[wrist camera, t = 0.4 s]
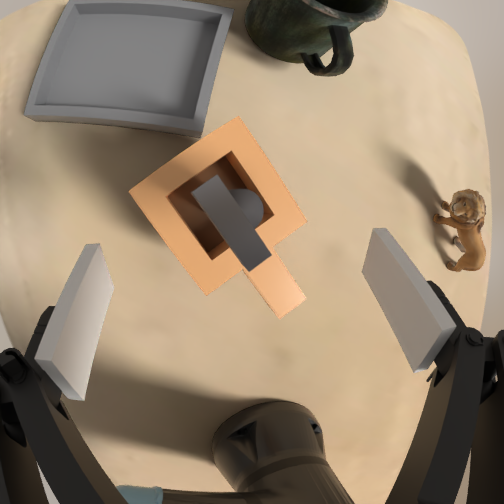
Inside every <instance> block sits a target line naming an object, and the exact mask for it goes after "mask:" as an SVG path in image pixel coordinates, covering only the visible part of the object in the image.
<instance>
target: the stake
mask: <svg viewBox="0 0 504 504" xmlns="http://www.w3.org/2000/svg"><path fill="white" fill-rule="evenodd" d="M167 197H168V198H169V200H170V201H171V203H172V204H173V205H174V207H175V208H176V210H177V211H178V212H179V214H180V215H181V217H182V218H183V219H184V221H185V222H186V223H187V225H188V226H189V228H190V229H191V230H192V232H193V233H194V235H195V236H196V237H197V239H198V240H199V241H200V243H201V244H202V245H203V247H204V248H205V250H206V251H207V252H209V251H211V250H212V249H213V248H215V247H216V246H218V245H219V244H220V243H222V242H223V241H224V240H225V242H226V243H227V244H228V246H229V247H230V249H231V250H232V251H233V253H234V254H235V256H236V257H237V258H238V260H239V261H240V262H241V264H242V265H243V266H244V267H245V268H246V269H247V271H248V272H250V271H251V270H253V269H254V268H255V267H257V266H258V265H259V264H261V263H262V262H263V261H265V260H266V259H268V258H269V257H270V256H272V254H271V253H270V251H269V250H268V248H267V247H266V245H265V244H264V242H263V241H262V239H261V238H260V236H259V235H258V233H257V232H256V230H255V228H256V227H257V226H258V225H259V224H260V222H261V220H262V218H263V213H264V208H263V203H262V201H261V199H260V198H259V196H258V195H257V194H256V193H254V192H253V191H251V190H248V189H247V187H246V186H245V184H244V183H243V181H242V180H241V178H240V177H239V175H238V174H237V172H236V171H235V169H234V168H233V167H232V165H231V164H230V162H229V161H228V159H227V158H226V156H224V157H223V158H221V159H220V160H218V161H217V162H215V163H214V164H212V165H211V166H209V167H208V168H206V169H205V170H203V171H202V172H200V173H199V174H198V175H196V176H195V177H193V178H192V179H190V180H189V181H188V182H186V183H185V184H183V185H182V186H181V187H179V188H178V189H176V190H175V191H174V192H172V193H171V194H169V195H168V196H167Z"/></svg>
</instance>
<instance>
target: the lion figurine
mask: <svg viewBox="0 0 504 504" xmlns="http://www.w3.org/2000/svg"><path fill="white" fill-rule="evenodd" d="M442 207H443V209H444V210H445V211H448V212H450V214H451V215H450V216H451V217H448V218H445V217H442V216H439V214H436V215H434V219H433V221H434V222H435V223H438V224H446V225H449V226H451V227H454V228H457V231H458V236H459V237H455V238H454V243H455V245H456V246H457V247H458V248H459V250H460V251H461V252H466V253H465V254H464V255H463V256H462V257H461V258H460V259H459V260H458V262H457V264H456V266H454V265H453V263H452V262H449V263H448V264H447V268H448V269H449V270H451V271H456V272H460V271H461V270H462V269H463V270H467V271H476V270H479V269H480V268H481V267H482V266H483V264H484V261H485V256H486V250H485V247H484V244H483V241H482V237H481V232H480V230H481V227H482V226H483V224H484V217H485V215H486V212H485V211H486V206H485V202H484V199H483V197H482V196H481V195H479V192H478V191H473V190H470V189H466V190H462V191H458V192H456V193H454V195H453V198H452V202H451V204H450V205H449V204H448V203H447V202H446V201H444V202H443V203H442ZM460 241H461V243H462V244H461V243H460Z"/></svg>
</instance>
